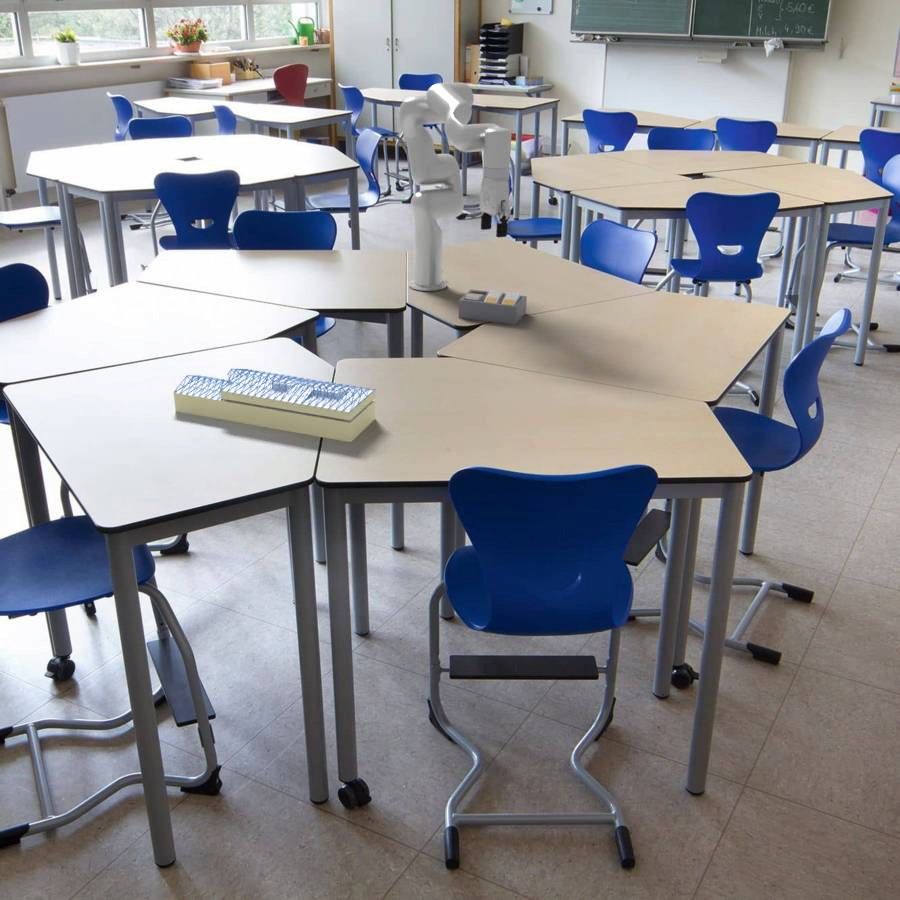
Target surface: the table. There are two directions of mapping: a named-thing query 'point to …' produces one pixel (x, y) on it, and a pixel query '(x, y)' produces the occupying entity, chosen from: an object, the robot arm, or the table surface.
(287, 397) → the keyboard
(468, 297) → the outlet rocker
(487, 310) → the grey storage tray
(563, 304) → the table surface
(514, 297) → the rocker outlet
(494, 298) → the outlet rocker
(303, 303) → the table surface
